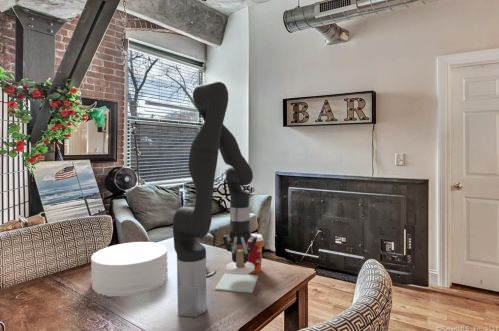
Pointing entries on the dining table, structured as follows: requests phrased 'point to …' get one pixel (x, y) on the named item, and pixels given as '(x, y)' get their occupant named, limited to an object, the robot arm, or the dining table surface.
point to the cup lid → (240, 265)
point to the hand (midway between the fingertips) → (240, 261)
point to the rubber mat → (237, 283)
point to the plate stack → (129, 268)
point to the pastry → (210, 270)
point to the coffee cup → (256, 253)
